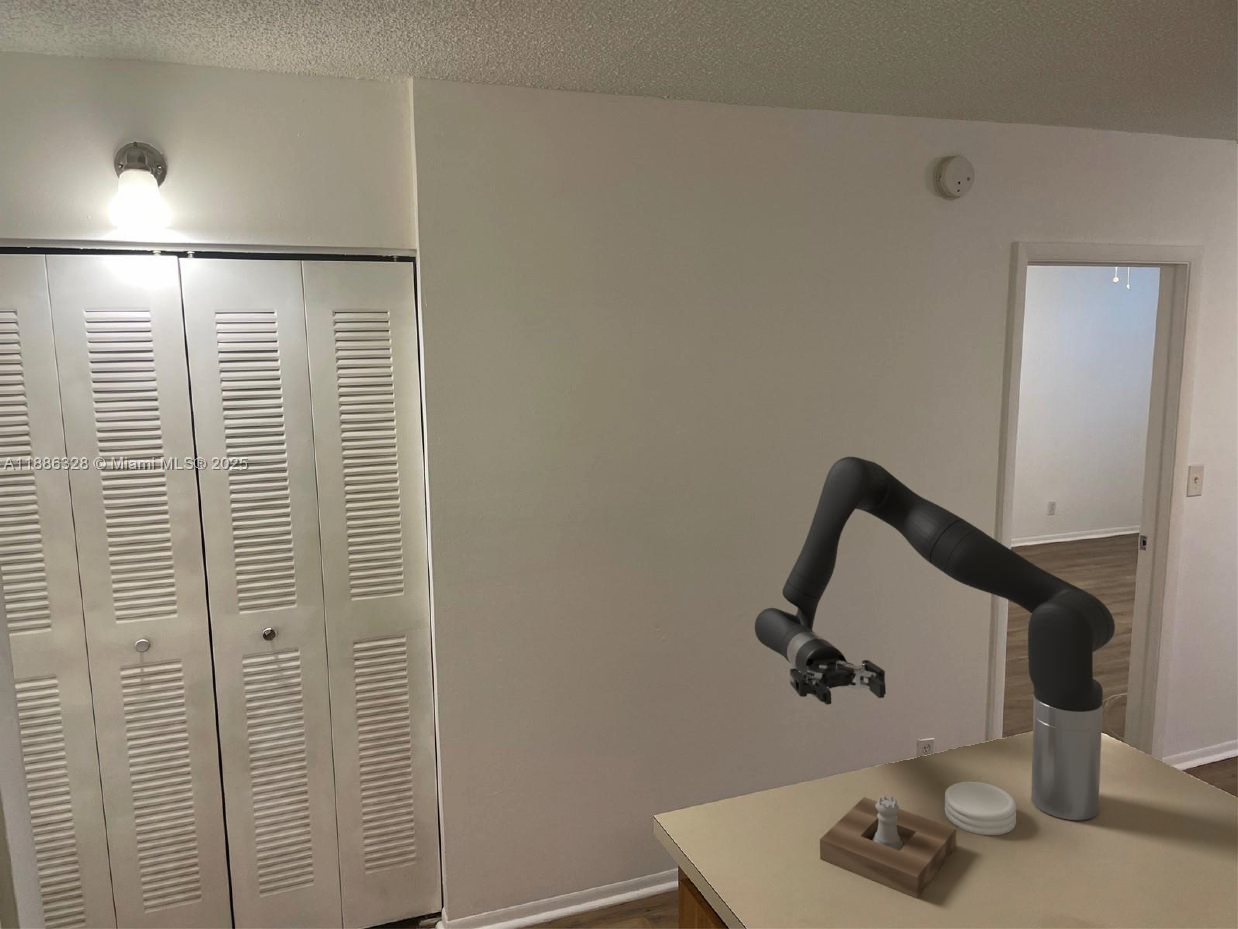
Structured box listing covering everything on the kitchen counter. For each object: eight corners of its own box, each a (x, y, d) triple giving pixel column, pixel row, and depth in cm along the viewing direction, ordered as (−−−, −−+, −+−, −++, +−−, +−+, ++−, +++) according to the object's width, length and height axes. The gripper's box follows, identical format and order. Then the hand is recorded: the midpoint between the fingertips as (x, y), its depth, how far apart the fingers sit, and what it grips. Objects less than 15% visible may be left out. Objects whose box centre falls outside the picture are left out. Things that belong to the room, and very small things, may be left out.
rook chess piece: (905, 863, 117) (905, 810, 116) (872, 861, 118) (872, 808, 117) (901, 845, 121) (901, 793, 120) (869, 842, 122) (869, 791, 121)
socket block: (864, 815, 129) (863, 797, 129) (955, 847, 120) (956, 828, 120) (820, 858, 119) (819, 839, 119) (917, 898, 110) (917, 877, 109)
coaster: (1009, 804, 131) (1009, 783, 131) (1022, 841, 122) (1022, 818, 121) (941, 798, 134) (941, 777, 133) (948, 833, 124) (948, 811, 124)
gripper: (774, 642, 142) (810, 677, 126) (854, 633, 144) (899, 666, 128) (776, 685, 143) (812, 724, 127) (855, 675, 145) (900, 713, 129)
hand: (855, 695), depth 128 cm, fingers open, 8 cm apart
